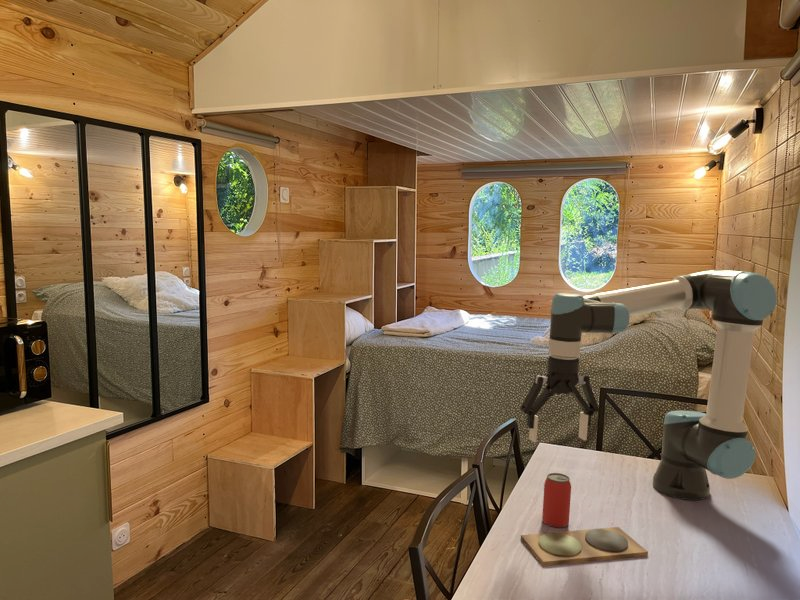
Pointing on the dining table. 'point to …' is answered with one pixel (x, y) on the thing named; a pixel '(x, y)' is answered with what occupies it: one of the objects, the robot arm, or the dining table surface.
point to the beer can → (556, 500)
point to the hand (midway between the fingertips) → (557, 439)
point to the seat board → (582, 546)
